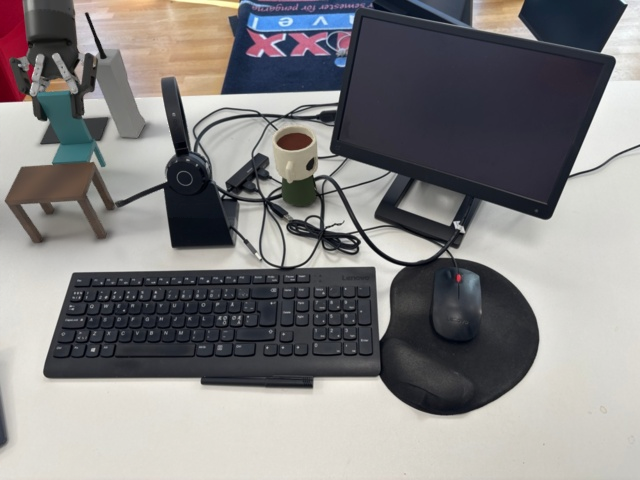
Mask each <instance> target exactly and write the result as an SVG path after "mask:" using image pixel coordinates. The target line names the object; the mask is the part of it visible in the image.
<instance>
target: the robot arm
mask: <svg viewBox="0 0 640 480" xmlns="http://www.w3.org/2000/svg"><path fill="white" fill-rule="evenodd" d="M22 7H23V15H24V16H23V17H24V27H25V36H26V44H27V46H28V47H27V48H28V49H27V52H26V53H25V54H26V55H24V56H22V57H18V58H17V57H15V56H12V57H9V60H8V61H9V66H10V69H11V71H12V74H13V77H14V80H15V83H16V87H17V90H18V92H19V93H20V94H23V95H26V96H28V97H30V98H31V103H32V114H33V116H34V117H35V118H36V120H37V121H39V122H48V121H49V119H48V117H47V115H46V113H45V112H44V110H43V108H42V106H41V104H40V102H39V100H38V98H37V94H38V92H47V89H48V87H50V85H51V83H52V82H51V81H53V80H58V79H61V80H64V81H65V83H66V84H67V86H68V89H69V90H70V91H71V94H72V95H70V98H71V111H72V117H73V118H74V119H82V118H83V116H85V114H86V112H85V100H84V97H85V95H87V94H88V93H94V92H95V90H96V82H97V79H96V74H97V66H98V59H97V58H96V57H95V56H96V55H94V54H93V53H91V52H86V53H82V52H80V51H79V48H78V33H77V23H76V10H75V3H74V0H22ZM79 63H80V64H81V66H82V75H81V81H80V79H79V77H78V74H77V72H76V71H75V70H76V69H77V67H78V65H79ZM30 65H31V67H32V68H33V71H32V75H31V80H30V76H29V73H28V72H29V71H30V67H29V66H30ZM31 81H32V83H31Z"/></svg>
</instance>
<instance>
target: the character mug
mask: <svg viewBox="0 0 640 480" xmlns="http://www.w3.org/2000/svg"><path fill="white" fill-rule="evenodd" d="M317 139H318V138H317V134H316V132H315V131H314V130H313V129H312V128H310V127H308V126H305V125H301V124H289V125H286V126H283V127H281V128H279V129H277V130H276V131H275V133H274V134H273V135H272V139H271V141H272V151H273V152H272V153H273V159H274V166H275V171H276V172H277V174H278V175H279V177H281V197H282V200H283V201H284V202H285V203H286V204H287V205H291V206H295V207H306V206H309V205H312V204H313V202H315V201H316V200H317V192H318V187H317V183H316V179H315V177H314V174H316V172H317V171H318V168H319V157H318V155H319V153H318V140H317Z"/></svg>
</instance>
